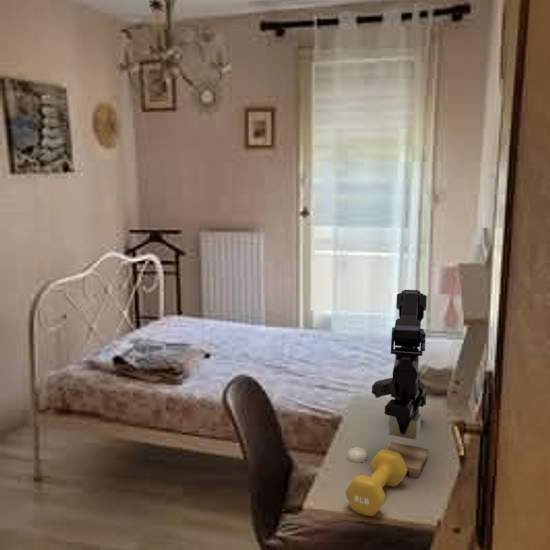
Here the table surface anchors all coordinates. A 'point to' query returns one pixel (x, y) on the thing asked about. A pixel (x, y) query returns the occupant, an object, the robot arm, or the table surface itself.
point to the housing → (411, 431)
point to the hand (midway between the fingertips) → (405, 430)
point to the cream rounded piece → (357, 454)
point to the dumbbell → (376, 482)
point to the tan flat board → (411, 457)
